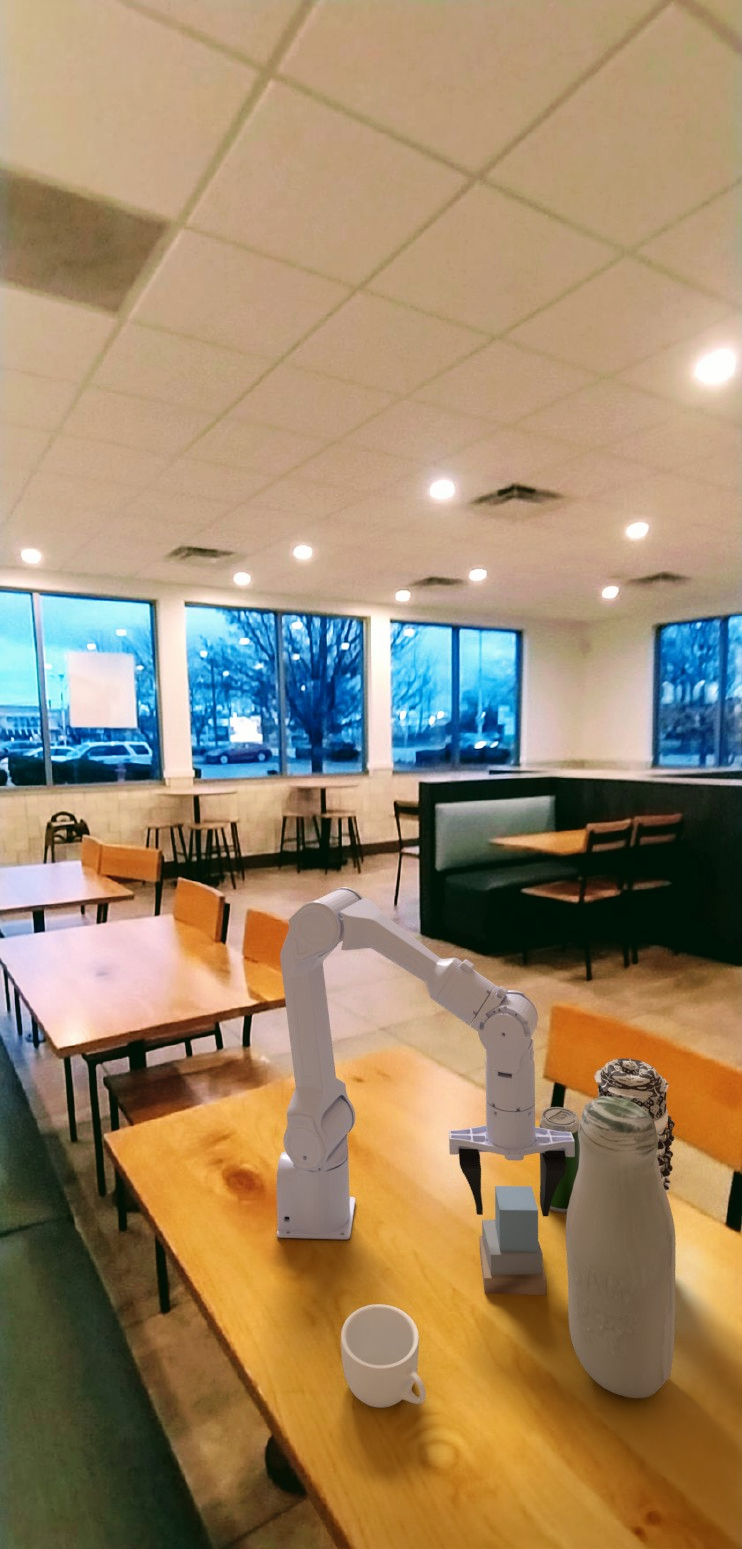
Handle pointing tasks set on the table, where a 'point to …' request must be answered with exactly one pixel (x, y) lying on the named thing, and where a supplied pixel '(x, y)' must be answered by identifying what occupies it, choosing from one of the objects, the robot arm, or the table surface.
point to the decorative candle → (641, 1100)
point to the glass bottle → (621, 1252)
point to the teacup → (381, 1356)
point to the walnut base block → (510, 1280)
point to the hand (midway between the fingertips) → (511, 1210)
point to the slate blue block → (516, 1218)
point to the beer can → (565, 1122)
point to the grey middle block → (508, 1255)
